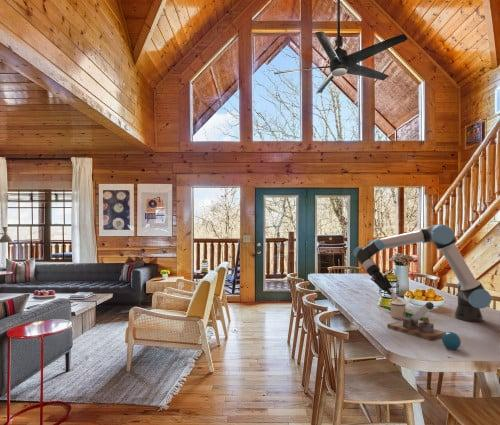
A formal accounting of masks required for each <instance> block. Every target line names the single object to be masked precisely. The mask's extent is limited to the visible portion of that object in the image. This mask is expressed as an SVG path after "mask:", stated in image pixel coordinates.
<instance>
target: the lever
mask: <svg viewBox="0 0 500 425" xmlns="http://www.w3.org/2000/svg"><path fill="white" fill-rule="evenodd" d="M434 305H435V304H434V303H433V302H431V301H427V302H425V304H424V305H422V307H421V308H419V309H418V310H417V311H416V312H415V313H414V315H413V316H411V317H410V316H409V318H408V319H410V320H412V325H413V324H415V323H416V322H417V321H418V322H419V320H421V319H420V318H422V317H423V316H424V317H425V315H427V314H428V313H429V312H430V311H431V310H433V309H434V308H435V307H434Z"/></svg>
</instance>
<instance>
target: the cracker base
mask: <svg viewBox="0 0 500 425" xmlns="http://www.w3.org/2000/svg"><path fill="white" fill-rule="evenodd" d="M424 317H425V318H423V320H422V322H419V320H418V321H417V322H416V323H415V324H413V325H412V320H410V319H409V318H406V317H405V318H404V319H402V320H398V321H395V322H390V323H386V324H387V326H386V327H387V328H388V329H392V330H395V331H398V332H401V333H405V334H408V335H410V336H411V335H412V336H415V337H417V338H422V339H425V340H428V341H435V340H437V339H440V338H441V339H442V337H443V335H444V334H445V333H446V331H443V330H440V329H435V327H434V325H435V324H434V323H432V322H430V319H429V317H428V318H426V317H427V316H424Z"/></svg>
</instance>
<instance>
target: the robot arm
mask: <svg viewBox="0 0 500 425" xmlns="http://www.w3.org/2000/svg"><path fill="white" fill-rule="evenodd" d="M454 234H455V233H454V230H453V229H452V228H451V227H450V226H448V225H446V224H432V225H428V226H426V227H422V228H419V229H418V230H416V231H411V232H406V233H405V232H404V233H401V234H396V235H390V236H387V237H382V238H379V237H376V238H375V239H371V240H368V241H367V243H366V246H364V247H363V246H357V247H355V248H354V250H353V251H352V254H353V256H354V257H355V259H356V260H357V261H358V262H359V264H360V265H361V267H362V268H363V269H364V270H365V271H366V273H367V275H368V276H371V278H370V280H371V281H372V282H374V284H375V285H377V287H379V289H381V291H383V292H384V293H387V294H388V296H389V297H390V298H391V299H392V301H395V300H396V299H399V298H398V297H399V296H397V295H396V294H395V292H394V290H393V289H392V288H393V285H392V284H391V282H390V280H389V279H388V277H387V274H383V273H382V272H381V271H380V267H379V266H378V265H377V264H376V262H375V261H374V260H373V259H372V257H373V256H375V255H376V254H378V253H380V252H381V251H383V250H387V249H393V248H397V247H402V246H407V245H412V244H417V243H422V244H425V243H433V245H434V246H435V248H436V249H437V250H439V251H441V253H442V255H443V256H444V258H445V260H446V262H447V263H448V264H449V267H450V268H451V270H452V272H453V273H454V275H455V277H456V279H457V280H458V282H457V286H456V288H457V289H456V290H457V306H456V309H455V311H454V318H456V319H458V320H462V321H464V322H465V321H466V322H472V323H473V322H477V323H478V322H483V321H484V320H483V318H484V317H483V314H482V311H481V309H485V308H487V307H489V305H490V304H491V302H492V295H491V294H490V292H489V291H488V290H486V289H485V287H484V285H483V284H482V282H481V281H480V280H477V279H476V277H475V276H474V274H473V273H472V270H470V269H471V268H470V267H469V266H468V263H467V262H466V261H465V258H464V257H463V256H462V254H461V252H460V250H459V248H458V246H457V245H456V244H457V240H456V238H455V235H454Z"/></svg>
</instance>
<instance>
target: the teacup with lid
mask: <svg viewBox="0 0 500 425" xmlns="http://www.w3.org/2000/svg"><path fill="white" fill-rule="evenodd" d="M406 305H407V304H406V303H405V302H403V301H402V300H400V298H396V299H395V300H392V301H391V302H390V307H391V311H390V316H391V317H392V318H393V319H398V320H399V319H400V320H403V319H404V318H406V316H405V311H406Z"/></svg>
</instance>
